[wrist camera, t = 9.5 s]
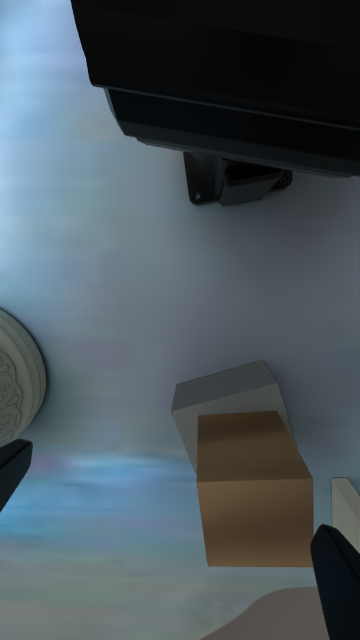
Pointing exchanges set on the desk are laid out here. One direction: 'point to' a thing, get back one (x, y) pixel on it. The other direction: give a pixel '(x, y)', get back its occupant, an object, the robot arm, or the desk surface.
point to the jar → (18, 379)
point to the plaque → (346, 510)
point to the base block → (226, 399)
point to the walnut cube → (253, 492)
